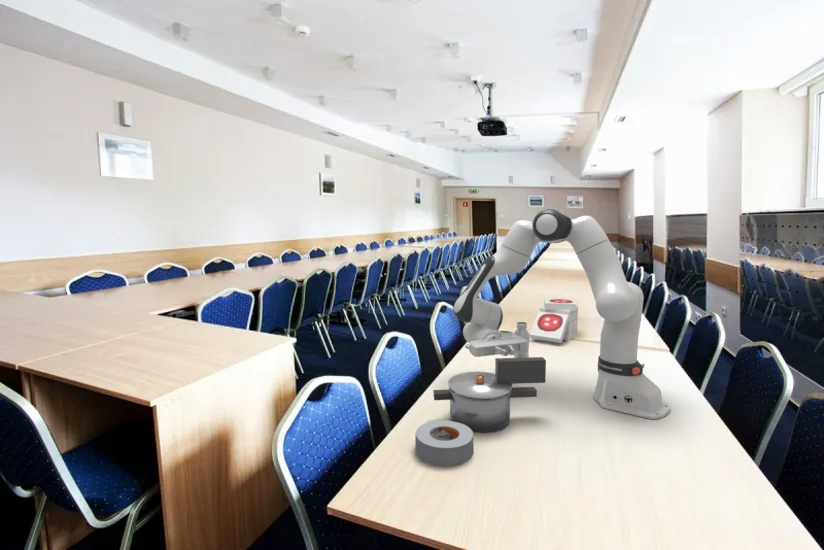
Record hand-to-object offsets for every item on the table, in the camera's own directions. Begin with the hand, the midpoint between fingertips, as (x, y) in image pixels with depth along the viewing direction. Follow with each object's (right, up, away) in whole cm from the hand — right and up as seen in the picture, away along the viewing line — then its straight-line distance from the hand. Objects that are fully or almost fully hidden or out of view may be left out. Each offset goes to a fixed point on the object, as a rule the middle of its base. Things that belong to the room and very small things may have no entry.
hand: (509, 353), depth 141 cm
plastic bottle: (+11, -13, +30) cm, 35 cm away
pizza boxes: (+41, -7, +79) cm, 89 cm away
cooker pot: (-10, -18, -9) cm, 22 cm away
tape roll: (-23, -21, -26) cm, 41 cm away
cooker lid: (-6, -8, -10) cm, 14 cm away
